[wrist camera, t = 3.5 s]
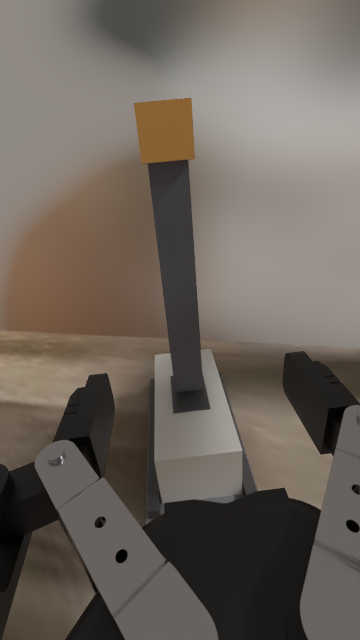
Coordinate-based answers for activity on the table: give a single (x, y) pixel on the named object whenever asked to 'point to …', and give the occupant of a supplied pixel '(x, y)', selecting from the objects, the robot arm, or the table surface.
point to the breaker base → (193, 441)
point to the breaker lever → (174, 227)
